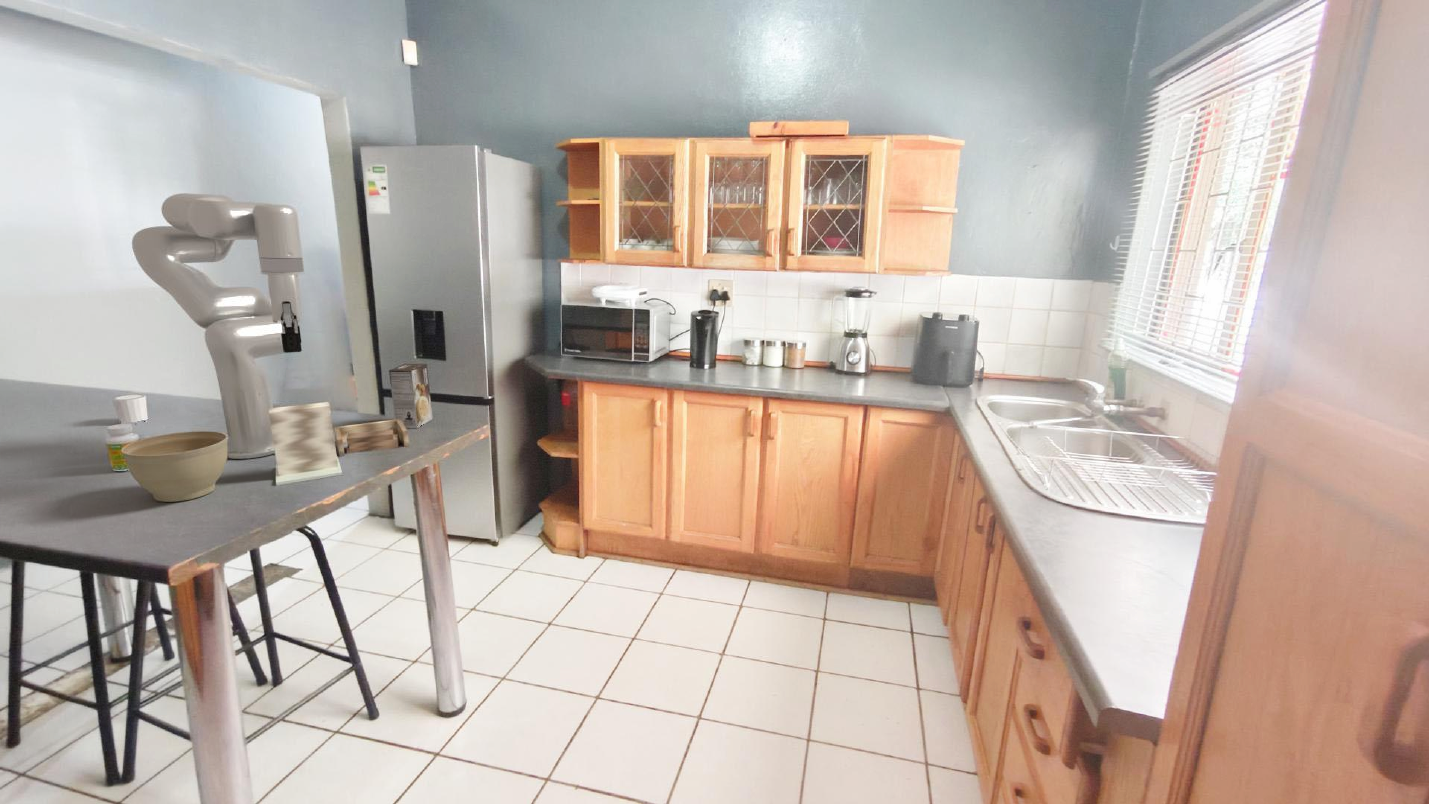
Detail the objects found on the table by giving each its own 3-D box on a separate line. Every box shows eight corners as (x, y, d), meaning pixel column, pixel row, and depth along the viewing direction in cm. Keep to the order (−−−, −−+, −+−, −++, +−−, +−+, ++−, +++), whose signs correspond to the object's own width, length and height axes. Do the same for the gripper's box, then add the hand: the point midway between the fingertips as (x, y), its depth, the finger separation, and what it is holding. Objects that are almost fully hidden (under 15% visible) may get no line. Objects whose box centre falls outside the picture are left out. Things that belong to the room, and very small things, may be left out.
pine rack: (339, 456, 153) (337, 439, 152) (335, 442, 163) (333, 427, 162) (409, 445, 161) (407, 430, 160) (401, 433, 171) (399, 418, 170)
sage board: (276, 485, 135) (275, 482, 135) (276, 468, 145) (275, 465, 144) (342, 474, 141) (342, 472, 141) (337, 458, 151) (337, 456, 151)
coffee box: (410, 418, 184) (405, 363, 180) (433, 419, 184) (428, 363, 180) (394, 428, 175) (388, 369, 171) (418, 428, 175) (412, 370, 171)
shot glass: (146, 417, 181) (141, 392, 180) (154, 421, 178) (149, 396, 176) (114, 422, 176) (108, 397, 174) (121, 427, 172) (116, 401, 170)
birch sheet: (278, 476, 138) (268, 412, 135) (278, 470, 142) (268, 408, 138) (338, 466, 144) (329, 405, 141) (336, 461, 148) (328, 401, 144)
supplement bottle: (109, 474, 140) (99, 431, 137) (115, 466, 144) (105, 424, 142) (142, 470, 142) (133, 427, 140) (147, 462, 147) (138, 421, 144)
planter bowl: (216, 505, 125) (206, 451, 122) (114, 514, 120) (101, 458, 118) (248, 476, 140) (240, 427, 137) (158, 482, 135) (148, 432, 133)
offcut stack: (347, 454, 155) (345, 439, 154) (348, 448, 159) (346, 433, 158) (398, 449, 159) (396, 434, 158) (398, 443, 163) (397, 428, 163)
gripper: (262, 263, 140) (273, 342, 145) (258, 269, 126) (270, 356, 130) (303, 263, 144) (312, 340, 148) (303, 269, 130) (314, 354, 134)
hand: (292, 347), depth 139 cm, fingers open, 9 cm apart
